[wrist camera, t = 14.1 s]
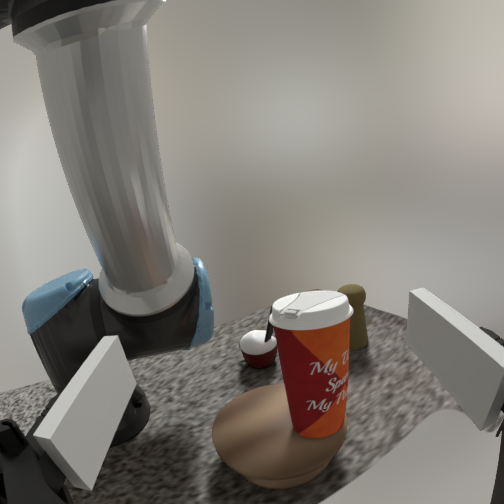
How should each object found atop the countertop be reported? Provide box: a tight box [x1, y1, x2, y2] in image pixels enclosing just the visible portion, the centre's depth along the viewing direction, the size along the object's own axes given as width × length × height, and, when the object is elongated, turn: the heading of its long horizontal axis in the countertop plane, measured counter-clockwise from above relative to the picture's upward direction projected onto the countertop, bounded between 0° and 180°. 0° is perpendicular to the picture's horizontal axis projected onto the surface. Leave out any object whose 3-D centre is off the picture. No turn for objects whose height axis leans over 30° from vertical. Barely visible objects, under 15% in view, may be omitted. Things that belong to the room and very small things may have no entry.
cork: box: [338, 284, 368, 350], centre depth 52 cm, size 6×6×11 cm
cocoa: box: [239, 307, 277, 368], centre depth 50 cm, size 10×6×12 cm, turn 28°
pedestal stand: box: [212, 383, 347, 489], centre depth 30 cm, size 15×15×6 cm
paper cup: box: [269, 291, 353, 439], centre depth 28 cm, size 8×8×14 cm
